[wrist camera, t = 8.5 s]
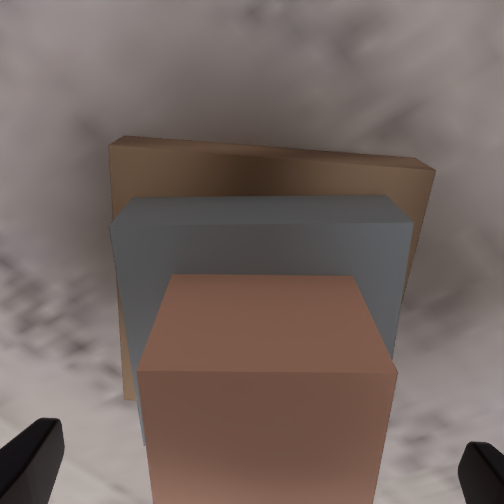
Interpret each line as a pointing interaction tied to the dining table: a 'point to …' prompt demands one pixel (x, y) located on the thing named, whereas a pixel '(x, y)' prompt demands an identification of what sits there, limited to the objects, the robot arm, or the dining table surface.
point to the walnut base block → (257, 183)
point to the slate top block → (258, 250)
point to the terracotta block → (264, 391)
